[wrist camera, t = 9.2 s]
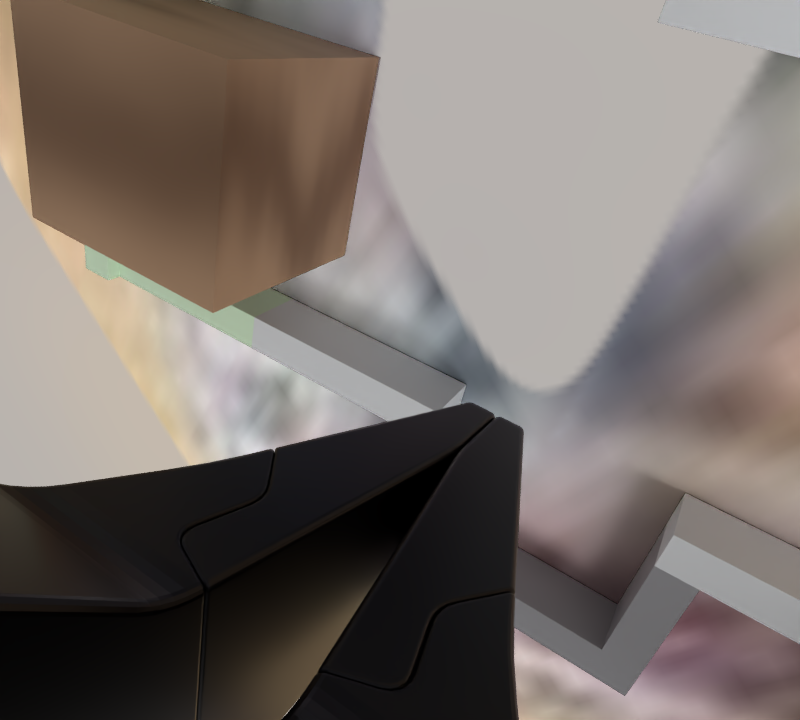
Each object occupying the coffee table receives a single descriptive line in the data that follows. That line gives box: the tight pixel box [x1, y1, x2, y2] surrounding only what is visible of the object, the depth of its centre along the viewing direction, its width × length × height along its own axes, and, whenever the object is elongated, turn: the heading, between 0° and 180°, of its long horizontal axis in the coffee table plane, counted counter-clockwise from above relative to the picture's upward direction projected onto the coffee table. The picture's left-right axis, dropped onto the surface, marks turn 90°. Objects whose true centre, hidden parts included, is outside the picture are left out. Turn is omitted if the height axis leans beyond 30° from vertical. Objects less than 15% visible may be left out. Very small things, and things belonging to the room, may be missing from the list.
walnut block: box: [11, 0, 381, 313], centre depth 18 cm, size 6×7×6 cm
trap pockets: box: [514, 524, 699, 696], centre depth 16 cm, size 23×14×2 cm, turn 166°
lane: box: [251, 0, 800, 644], centre depth 16 cm, size 13×20×2 cm, turn 76°
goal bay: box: [85, 245, 292, 347], centre depth 20 cm, size 13×8×2 cm, turn 166°
